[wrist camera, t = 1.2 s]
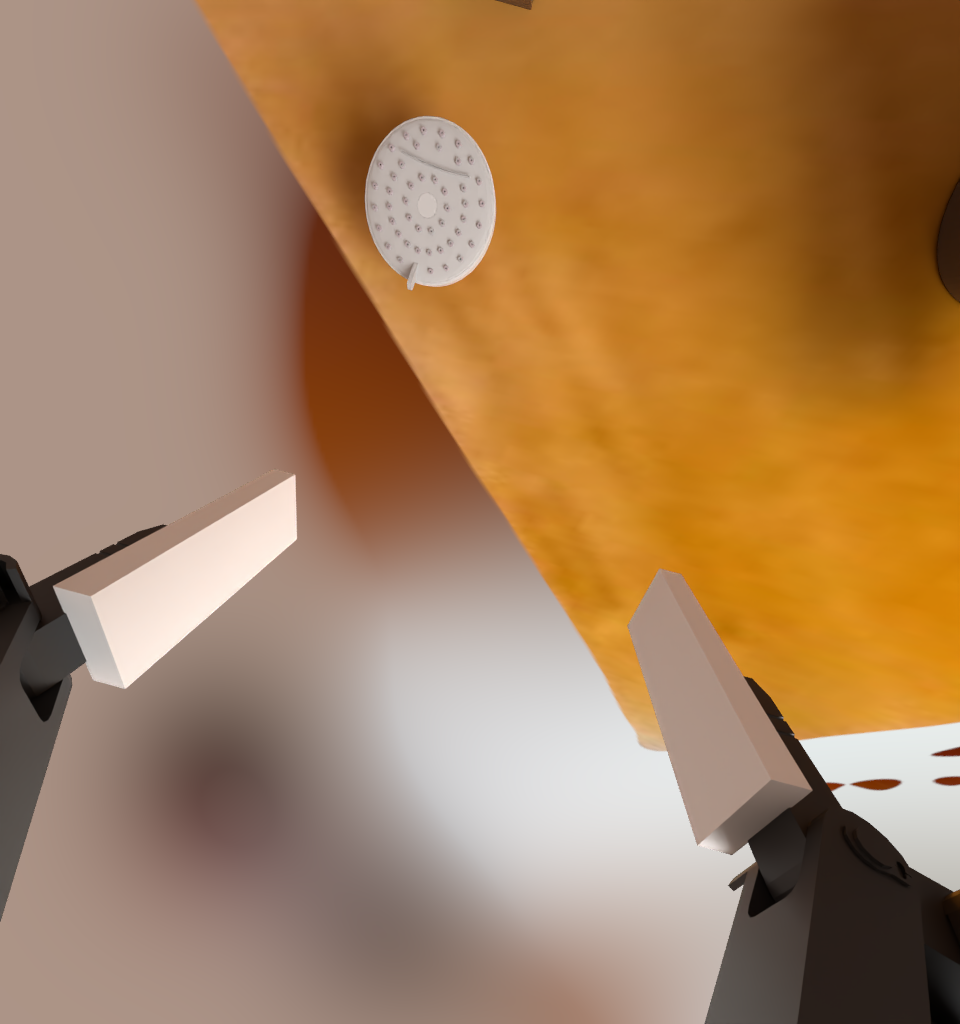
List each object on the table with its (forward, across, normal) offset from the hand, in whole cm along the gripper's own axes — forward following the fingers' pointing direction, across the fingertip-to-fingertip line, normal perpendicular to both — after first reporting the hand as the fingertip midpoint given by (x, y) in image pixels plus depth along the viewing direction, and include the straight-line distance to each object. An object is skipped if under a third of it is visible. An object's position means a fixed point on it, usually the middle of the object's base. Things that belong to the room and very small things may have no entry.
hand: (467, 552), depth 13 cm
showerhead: (+27, -9, +13) cm, 32 cm away
